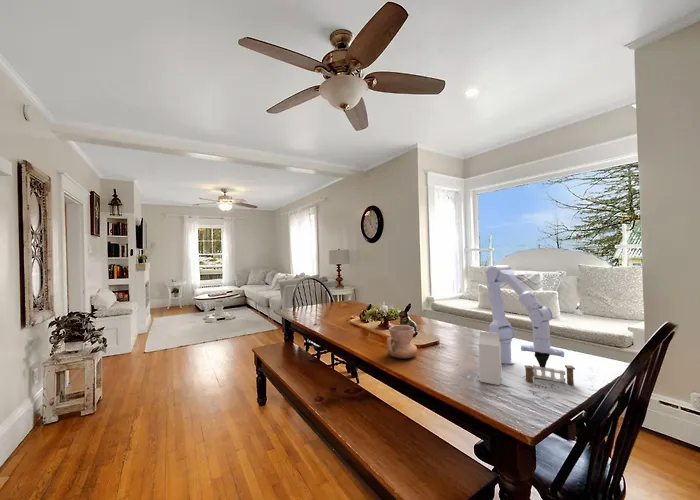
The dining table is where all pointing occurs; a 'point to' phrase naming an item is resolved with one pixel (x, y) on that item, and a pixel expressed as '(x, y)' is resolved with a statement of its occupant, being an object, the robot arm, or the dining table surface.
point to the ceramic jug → (401, 342)
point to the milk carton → (490, 358)
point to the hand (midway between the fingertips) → (542, 371)
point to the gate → (551, 373)
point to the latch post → (529, 373)
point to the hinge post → (570, 374)
